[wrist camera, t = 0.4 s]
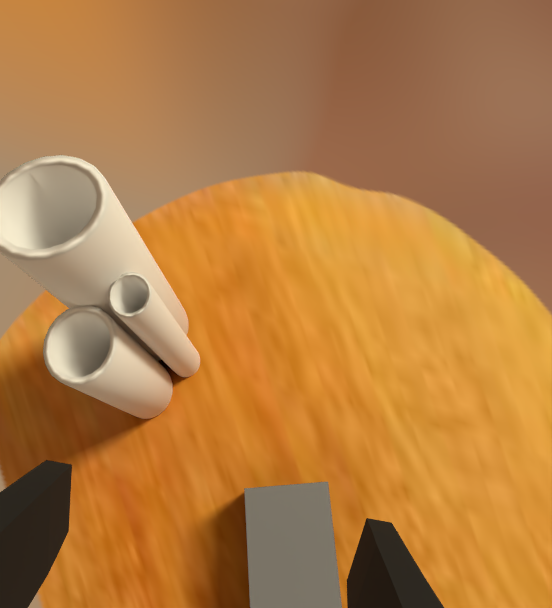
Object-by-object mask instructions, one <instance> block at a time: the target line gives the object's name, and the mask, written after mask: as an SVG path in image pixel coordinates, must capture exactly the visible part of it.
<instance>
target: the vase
mask: <svg viewBox="0 0 552 608" xmlns="http://www.w3.org/2000/svg"><path fill="white" fill-rule="evenodd" d="M0 253H1V254H2V255H4V256H5V257H6V258H7V259H9V260H10V261H11V262H12V263H14V264H15V265H16V266H17V267H19V268H20V269H21V270H22V271H23V272H25V273H26V274H27V275H28V276H30V277H31V278H32V279H34V280H35V281H36V282H37V283H38V284H40V285H41V286H42V287H43V288H45V289H46V290H47V291H48V292H50V293H51V294H52V295H53V296H54V297H56V298H57V299H58V300H59V301H61V302H62V303H63V304H64V305H66V306H67V307H68V308H69V309H68V310H66V311H65V312H63V313H62V314H61V315H59V316H58V317H57V318H56V319H55V321H54V322H53V323H52V325H51V326H50V327H49V329H48V332H47V334H46V337H45V339H44V348H43V355H44V360H45V365H46V366H47V368H48V370H49V372H50V373H51V375H52V376H53V377H54V378H56V379H57V380H58V381H59V382H61V383H63V384H65V385H67V386H69V387H72V388H74V389H76V390H78V391H80V392H83V393H85V394H87V395H89V396H91V397H94V398H96V399H98V400H100V401H102V402H105V403H107V404H109V405H111V406H113V407H116V408H118V409H120V410H122V411H124V412H127V413H129V414H131V415H133V416H136V417H139V418H142V419H150V418H153V417H156V416H158V415H159V414H161V413H162V412H163V411H164V410H165V409H166V407H167V406H168V404H169V403H170V400H171V396H172V393H173V384H172V380H171V377H170V375H169V373H168V372H167V370H166V369H165V368H164V367H163V366H162V365H161V364H160V363H159V362H158V361H159V360H163V361H164V362H165V363H166V364H167V365H168V366H169V367H170V368H171V369H172V370H173V371H174V372H175V373H176V374H177V375H179V376H181V377H189V376H192V375H193V374H195V373H196V372H197V370H198V368H199V365H200V356H199V353H198V352H197V350H196V349H195V348H194V346H193V345H192V343H191V342H190V340H189V339H188V337H187V336H186V335H187V332H188V318H187V315H186V312H185V310H184V308H183V307H182V305H181V303H180V302H179V300H178V298H177V297H176V295H175V293H174V292H173V290H172V288H171V287H170V285H169V283H168V282H167V280H166V278H165V277H164V275H163V273H162V272H161V270H160V268H159V267H158V265H157V263H156V262H155V260H154V258H153V257H152V255H151V254H150V252H149V250H148V249H147V247H146V245H145V244H144V242H143V240H142V239H141V237H140V235H139V234H138V232H137V230H136V229H135V227H134V225H133V224H132V222H131V220H130V219H129V217H128V215H127V214H126V212H125V211H124V209H123V207H122V205H121V204H120V202H119V200H118V199H117V197H116V196H115V194H114V192H113V191H112V189H111V187H110V186H109V184H108V182H107V181H106V179H105V177H104V176H103V175H102V174H101V173H100V172H99V171H98V169H97V168H96V167H95V166H93V165H91V164H89V163H88V162H86V161H84V160H82V159H79V158H75V157H69V156H64V155H60V156H48V157H41V158H39V159H35V160H32V161H29V162H26V163H24V164H22V165H20V166H19V167H17V168H15V169H14V170H12V171H10V172H9V173H7V174H6V175H5V176H4V177H3V178H2V179H1V180H0Z"/></svg>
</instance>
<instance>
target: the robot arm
mask: <svg viewBox="0 0 552 608" xmlns="http://www.w3.org/2000/svg"><path fill="white" fill-rule="evenodd" d="M71 471H72V465H70V464H65V463H59V462H54V461H48V460H46V461H45V462H43V463H41V464H40V465H39V466H37V467H36V468H34V469H33V470H31V471H30V472H28V473H27V474H26V475H24V476H23V477H21V478H20V479H18V480H17V481H16V482H14V483H13V484H11V485H10V486H9V487H7V488H6V489H4V490H3V491H1V492H0V608H28V606H29V605H30V603H31V601H32V600H33V598H34V596H35V595H36V593H37V592H38V590H39V588H40V587H41V585H42V583H43V582H44V580H45V578H46V577H47V575H48V573H49V571H50V569H51V567H52V565H53V563H54V561H55V559H56V557H57V555H58V552H59V550H60V548H61V546H62V544H63V542H64V540H65V537H66V535H67V533H68V531H69V511H70V491H71ZM347 601H348V608H444V607H443V605H442V604H441V602H440V601H439V599H438V598H437V596H436V594H435V593H434V591H433V590H432V588H431V587H430V585H429V584H428V582H427V580H426V579H425V577H424V576H423V574H422V572H421V571H420V569H419V567H418V566H417V564H416V562H415V561H414V559H413V557H412V556H411V554H410V552H409V551H408V549H407V547H406V546H405V544H404V542H403V541H402V539H401V537H400V536H399V534H398V532H397V531H396V529H395V527H394V526H393V524H392V523H390V522H385V521H379V520H374V519H368V518H367V519H366V522H365V525H364V529H363V532H362V535H361V538H360V541H359V544H358V547H357V551H356V554H355V557H354V560H353V563H352V566H351V569H350V573H349V576H348V579H347Z"/></svg>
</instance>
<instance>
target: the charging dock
mask: <svg viewBox="0 0 552 608" xmlns="http://www.w3.org/2000/svg"><path fill="white" fill-rule="evenodd" d="M244 490H245V511H246V532H247V553H248V573H249V594H250V608H342V605H341V596H340V586H339V577H338V568H337V559H336V550H335V541H334V532H333V523H332V514H331V505H330V495H329V486H328V482H318V483H306V484H294V485H282V486H270V487H258V488H246V489H244Z"/></svg>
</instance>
